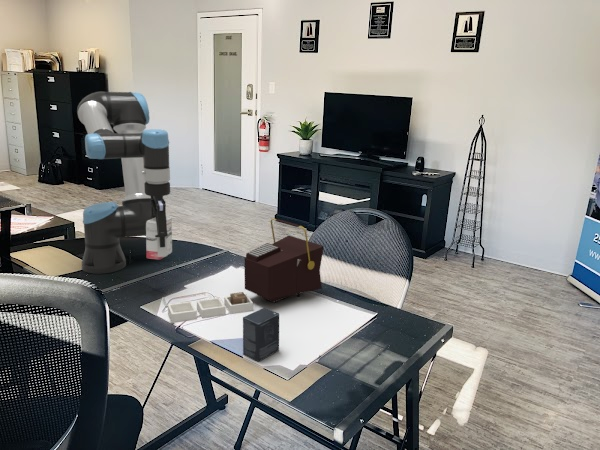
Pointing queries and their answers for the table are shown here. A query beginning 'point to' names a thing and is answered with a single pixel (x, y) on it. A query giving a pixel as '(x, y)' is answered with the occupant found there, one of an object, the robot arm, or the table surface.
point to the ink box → (152, 240)
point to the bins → (206, 309)
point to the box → (260, 334)
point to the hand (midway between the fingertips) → (159, 251)
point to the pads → (164, 302)
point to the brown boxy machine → (283, 267)
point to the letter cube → (238, 298)
